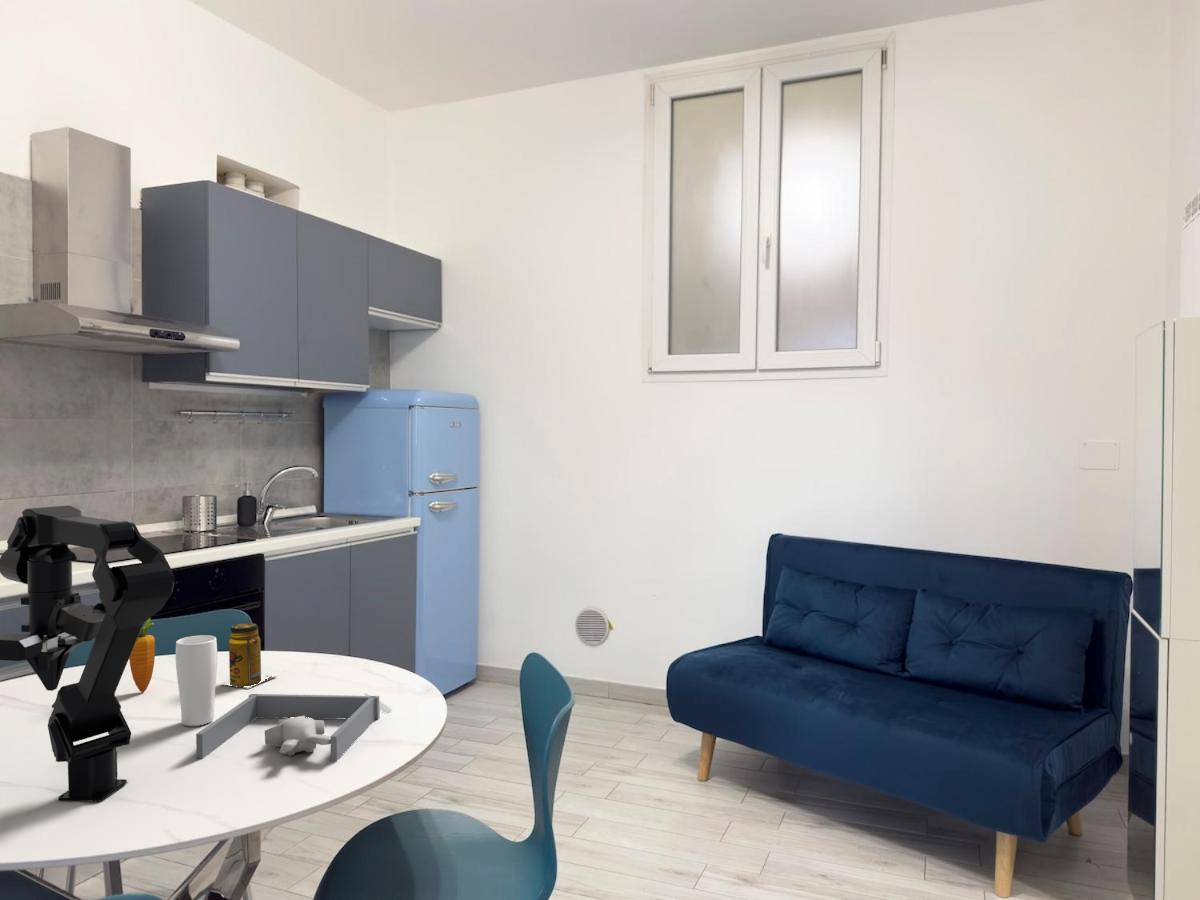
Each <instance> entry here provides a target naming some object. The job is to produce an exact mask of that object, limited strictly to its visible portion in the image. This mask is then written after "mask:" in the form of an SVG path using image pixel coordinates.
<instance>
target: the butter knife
mask: <svg viewBox="0 0 1200 900" xmlns="http://www.w3.org/2000/svg"><path fill="white" fill-rule="evenodd" d="M368 694H369V693H363V695H365V696H371V694H369V695H368ZM363 695H362V696H363ZM379 707H380V710H382V711H383V712H390V713H392V712H391V711H393V710H392V708H391V707H390V706H388V705H387V704H385V702H382V701H381V700H379ZM383 712H382V713H383Z"/></svg>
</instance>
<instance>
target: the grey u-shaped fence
mask: <svg viewBox="0 0 1200 900" xmlns="http://www.w3.org/2000/svg"><path fill="white" fill-rule="evenodd" d="M379 701H380V695H370V696H363V695H340V694H339V695H335V694H333V695H331V694H330V695H329V694H326V695H325V694H281V693H279V694H271V693H264V694H263V693H250V694H249V695H248V697H247V698H245V700H242V701H241V702H240V703H239V704H238V705H236V706H234V707H233V708H231V709H230V710H229V711H227V712H226V713H224V714H223V715H221V716H220V717H219V718H216V719H215V720H213V722H210V724H208V725H207V726H205V727H204V728H202V729H201V730H200V731H198V732H197V733H196V734H195V735H196V739H195V740H196V741H195V742H196V743H195V744H196V759H199V758H201V759H204V758H206V757H207V756H208V755H210V754H211V753H212V752H214V751H215V750H216V749H217V748H219V747H220V746H222V745H223V744H224V743H225V742H226V740H227V739H228V740H229V739H231V738H232V737H233V736H235V735H236V734H237V733H238V732H240V731H242V729H243V728H245V727H246V726H248V725H249V724H251V723H252V722H253V721H254V720H256V719H257V718H256V717H299V716H305V717H307V718H308V717H309V718H312V719H314V718H349V719H345V720H346V721H345V720H344V722H343V723H342V724H341V725H340V726H339V727H338V728H337V729H336V730H335V731H333V732H332V734H331V735H330V736H329V738H330V742H331V744H330V762H338V761H339V760H340V759H341V758H342V757H343V756H344V754H345V753H346V752H347V751H348V750H349V749H350V748H351V747H352V745H353V744H354V743H355V742H356V741H357V740H358V739H359V738H360V737H361V736H362V735H361V734H364V732H365V731H366V730H367V729H369V727H370V726H371V725H370V724H371V723H372V722H373V723H374V721H376V720H375V719H378V720H379V719H380V718H381V717H380V713H381V711H380V707H379ZM255 718H256V719H255ZM251 721H252V722H251ZM373 723H372V724H373ZM247 724H248V725H247ZM369 725H370V726H369ZM368 726H369V727H368ZM365 729H366V730H365ZM364 730H365V731H364ZM234 734H235V735H234ZM360 735H361V736H360ZM359 736H360V737H359ZM230 737H231V738H230ZM358 737H359V738H358ZM357 738H358V739H357ZM356 739H357V740H356ZM228 740H227V741H228ZM355 740H356V741H355ZM354 741H355V742H354ZM222 743H223V744H222ZM352 743H353V744H352ZM351 744H352V745H351ZM218 746H219V747H218ZM350 746H351V747H350ZM349 747H350V748H349ZM348 748H349V749H348ZM347 749H348V750H347ZM346 750H347V751H346ZM345 751H346V752H345ZM343 753H344V754H343ZM206 755H207V756H206ZM205 756H206V757H205ZM339 758H340V759H339ZM201 759H200V760H201ZM338 759H339V760H338ZM337 760H338V761H337Z"/></svg>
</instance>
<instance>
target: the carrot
mask: <svg viewBox="0 0 1200 900" xmlns="http://www.w3.org/2000/svg"><path fill="white" fill-rule="evenodd" d="M153 626H155V623H154V622H151V618H149V619H148V620H147V621H145V622H144V625H143V626H142V628H141V631H140V633H139V636H138V638H137V640H136V643H135V645H134V648H133V650H132V653H131V655H130V657H129V660H128V661H129V667H130V672H131V677H132V679H133V682H134V684H135V686H136V687H137V689H138V691H140V692H141V693H145V691H147V688H148V687H149V685H150V682H151V679H152V678H153V672H154V667H155V654H156V653H155V652H156V650H155V649H156V648H155V647H156V644H155V643H156V641H155V637H154V636H153V635H150V634H147V633H148V631H149V630H150V629H151V628H152V627H153Z"/></svg>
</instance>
